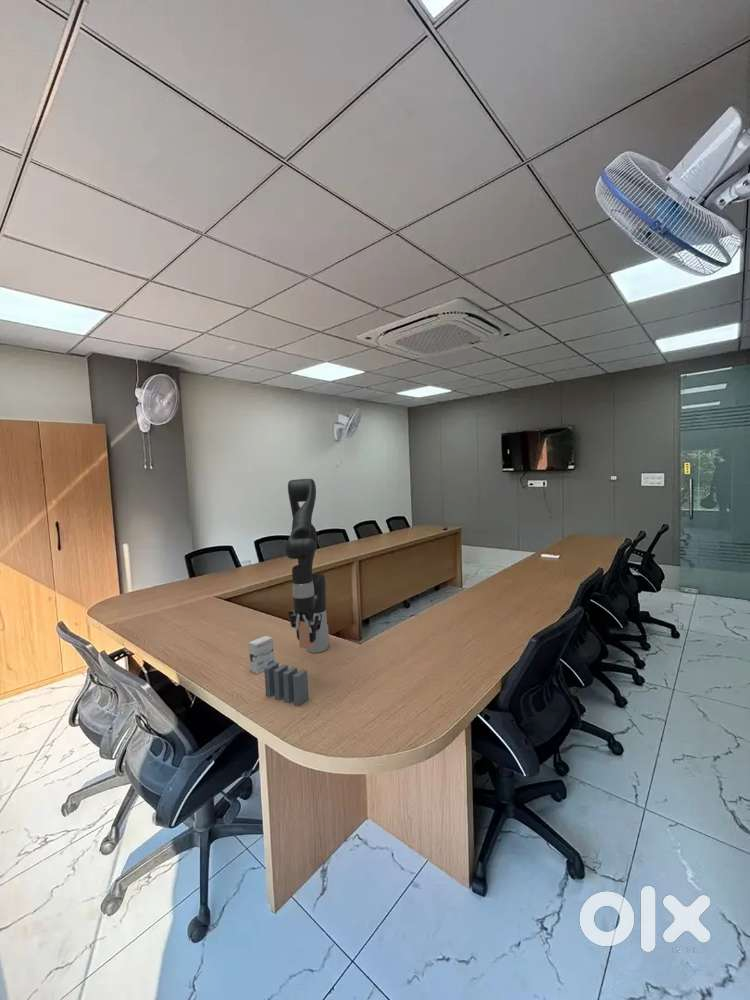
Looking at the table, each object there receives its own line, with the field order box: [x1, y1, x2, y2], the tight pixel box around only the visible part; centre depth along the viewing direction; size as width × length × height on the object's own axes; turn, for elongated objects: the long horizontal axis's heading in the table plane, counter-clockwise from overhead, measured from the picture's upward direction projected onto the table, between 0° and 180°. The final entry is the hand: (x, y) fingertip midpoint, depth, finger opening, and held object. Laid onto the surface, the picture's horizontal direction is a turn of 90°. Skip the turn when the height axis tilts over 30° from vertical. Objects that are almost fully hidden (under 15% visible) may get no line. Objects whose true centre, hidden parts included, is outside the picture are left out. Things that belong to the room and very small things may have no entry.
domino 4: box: [298, 620, 314, 650], centre depth 146 cm, size 2×5×10 cm, turn 60°
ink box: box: [248, 635, 275, 675], centre depth 163 cm, size 8×5×12 cm, turn 141°
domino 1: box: [263, 661, 280, 698], centre depth 144 cm, size 2×5×10 cm, turn 150°
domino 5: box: [293, 668, 310, 707], centre depth 137 cm, size 2×5×10 cm, turn 150°
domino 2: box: [273, 664, 289, 701], centre depth 142 cm, size 2×5×10 cm, turn 150°
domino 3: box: [283, 666, 299, 704], centre depth 139 cm, size 2×5×10 cm, turn 150°
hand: (306, 640), depth 146 cm, fingers closed on domino 4, 5 cm apart
